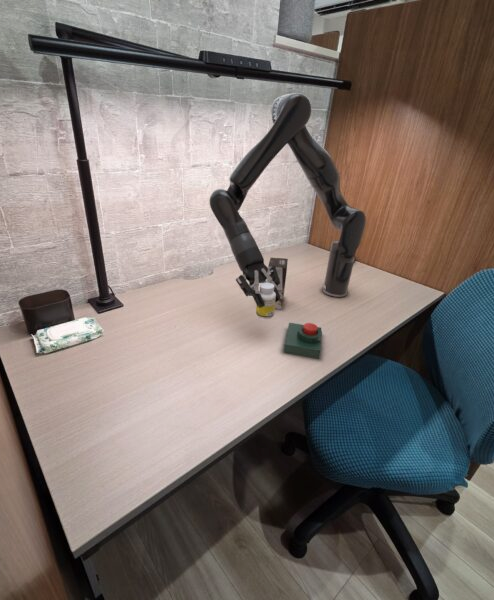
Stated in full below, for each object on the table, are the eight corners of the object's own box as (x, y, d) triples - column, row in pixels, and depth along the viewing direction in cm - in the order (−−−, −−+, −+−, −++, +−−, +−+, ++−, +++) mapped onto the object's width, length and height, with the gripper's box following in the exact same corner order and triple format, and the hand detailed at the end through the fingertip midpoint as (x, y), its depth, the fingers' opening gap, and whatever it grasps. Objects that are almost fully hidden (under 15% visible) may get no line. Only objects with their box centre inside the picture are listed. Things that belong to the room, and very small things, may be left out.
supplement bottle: (257, 308, 97) (260, 280, 92) (275, 312, 96) (278, 282, 91) (253, 317, 92) (255, 287, 88) (272, 321, 91) (275, 291, 86)
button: (303, 327, 95) (304, 322, 94) (316, 329, 94) (317, 324, 93) (302, 334, 91) (303, 329, 90) (316, 336, 90) (317, 331, 90)
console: (288, 330, 101) (289, 317, 99) (319, 335, 99) (322, 322, 97) (283, 352, 91) (285, 338, 89) (318, 359, 89) (321, 344, 87)
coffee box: (282, 309, 113) (286, 267, 105) (264, 307, 114) (267, 265, 106) (283, 297, 121) (288, 258, 113) (267, 295, 122) (270, 256, 114)
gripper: (232, 250, 86) (258, 306, 83) (271, 241, 94) (295, 292, 91) (221, 262, 92) (244, 315, 90) (258, 253, 100) (280, 301, 98)
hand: (270, 303), depth 90 cm, fingers closed on supplement bottle, 5 cm apart
